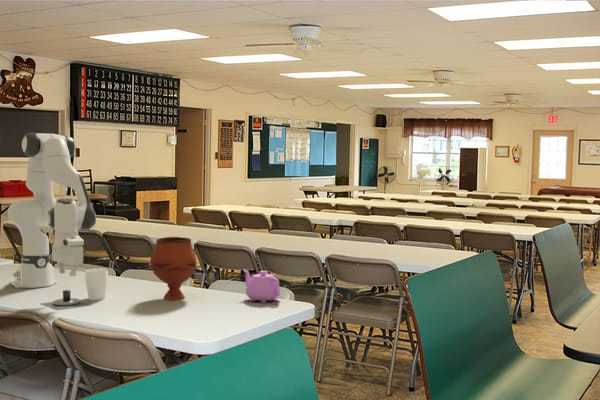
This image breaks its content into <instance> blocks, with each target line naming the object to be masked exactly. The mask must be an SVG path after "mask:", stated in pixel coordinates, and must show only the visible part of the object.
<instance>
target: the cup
mask: <svg viewBox="0 0 600 400" xmlns="http://www.w3.org/2000/svg"><path fill="white" fill-rule="evenodd" d="M84 276H85V277H84V278H85V285H86V291H87V297H88V300H90V301H100V300H101V301H102V300H106V295H107V287H108V282H109V273H108V269H107V268H91V269H90V268H89V269H86V270H85V275H84Z"/></svg>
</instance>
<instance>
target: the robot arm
mask: <svg viewBox="0 0 600 400" xmlns="http://www.w3.org/2000/svg"><path fill="white" fill-rule="evenodd" d="M21 149H22V152H23V154H24V155H25V156H27V157H29V159H28V161H27V162H28V163H27V170H26V179H25V186H26V188H27V189H28V190H29V191H31V192H32V194H33V199H27V200H19V201H15V202H13V203H11V204H10V205H9V207H8V209H7V217H8V220H9V221H10V222H11V223H12V224H13V225H14V226H15V227H17V229H18V231H19V233H20V236H21V238H22V239H21V240H22V241H21V242H22V255H21V260H20V263H21V264H19V266H18V267H17V269H16V270H15V271H13V274H12V275H13V277H14V278H15V279H12V280H10V282H9V283H10V284H11V285H12V286H13V287H14V288H16V289H17V288H18V289H19V288H29V289H32V288H33V289H34V288H45V287H51V286H53V285H55V284H57V283H58V281H57V280H56V279H55V276H54V266H53V265H52V264H51V263H50V262H51V259H52V262H56V264H57V268H58V273H59V274H65V273H66V269H65V265H64V264H67V265H70V268H71V269H70V271H69V276H70V277H75V276H76V275H77V269H78V266H82V265H83V263H84V247H83V246H84V245H85V241H84V239H83V238H82V237H80V235H79V230H82V231H83V230H84V231H88V230H90V229H92V228H93V227H94V226H95V225H96V223H97V215H96V211H95V209H94V206H93V205H92V202H91V200H90V196H89V193H88V190H87V186H86V184H85V181H84V178H83V176H82V174H81V173H80V172H79V171H77V170H76V169H75V168H74V166H73V164H72V161H71V158H72V157H73V156H74V154H75V151H76V144H75V140H74V138H73V137H71V136H68V135H61V134H56V133H44V132H43V133H38V132H37V133H36V132H28V133H26V134H24V136H23V138H22V141H21ZM53 183H55V184H58V185H63V186H65V187H68V188H70V189H72V190H73V191H74V193H75V195H76V198H77V200H78V204H79V205H77V202H76V200H74V199H72V198H68V197H67V198H59V199H56V197H55V196H54V192H53ZM40 224H48V226H49V227H50V228H52V229H53V230H54V243H52V248H51V249H52V251H51V254H50V242H49V241H50V240H49V236H48V235H47V234H46V233H44V232H42V230H41V229H40Z"/></svg>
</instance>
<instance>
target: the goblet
mask: <svg viewBox="0 0 600 400" xmlns="http://www.w3.org/2000/svg"><path fill="white" fill-rule="evenodd" d="M149 260H150V261H149V263H150V264H149V265H150V268H151V270H152V273H153V274H154V275H155V277H156V278H158V279H159V280H160V281H161V282H163V283H165V284H167V286H166V287H168V290H167V292H166V293H165V294H164V296H163V299H164V300H166V301H167V300H169V301H176V300H183V299H185V295H184V293H183V292H182V291H181V287H182V284H184V283H185V282H186V281H188V280H189V279H190V278H191V276H192V275H193V274H194V272H195V271H196V267H197V257H196V254H195V250H194V248H193V245H192V239H191V238H188V237H180V236H167V237H160V238H157V239H156V243H155V245H154V247H153V250H152V252H151V256H150V259H149Z"/></svg>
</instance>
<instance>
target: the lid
mask: <svg viewBox="0 0 600 400" xmlns="http://www.w3.org/2000/svg"><path fill="white" fill-rule="evenodd" d="M80 301H81V300H80V299H79V298H75V297H71V290H70V289H65V290H63V291H62V298H58V299H55V300H53V301H52V302H53V305H55V306H73V305H77V304H80Z"/></svg>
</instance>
